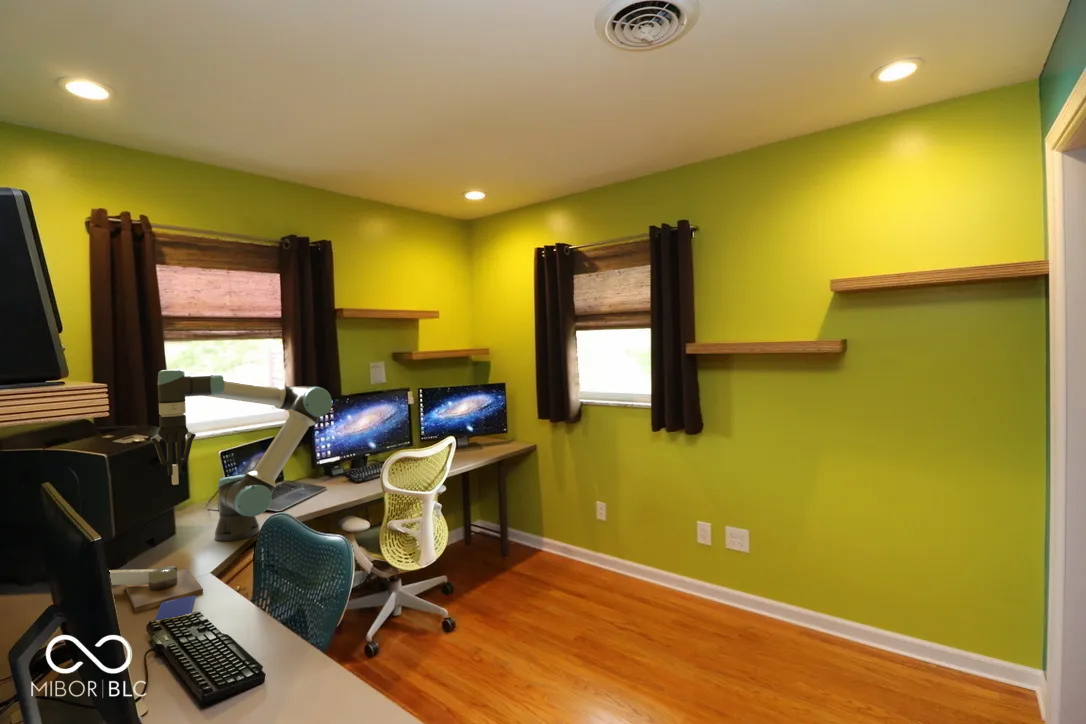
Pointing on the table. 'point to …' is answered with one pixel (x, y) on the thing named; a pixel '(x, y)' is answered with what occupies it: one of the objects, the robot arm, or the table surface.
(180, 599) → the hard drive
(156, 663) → the table surface
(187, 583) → the base plate
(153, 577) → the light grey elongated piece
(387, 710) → the table surface
